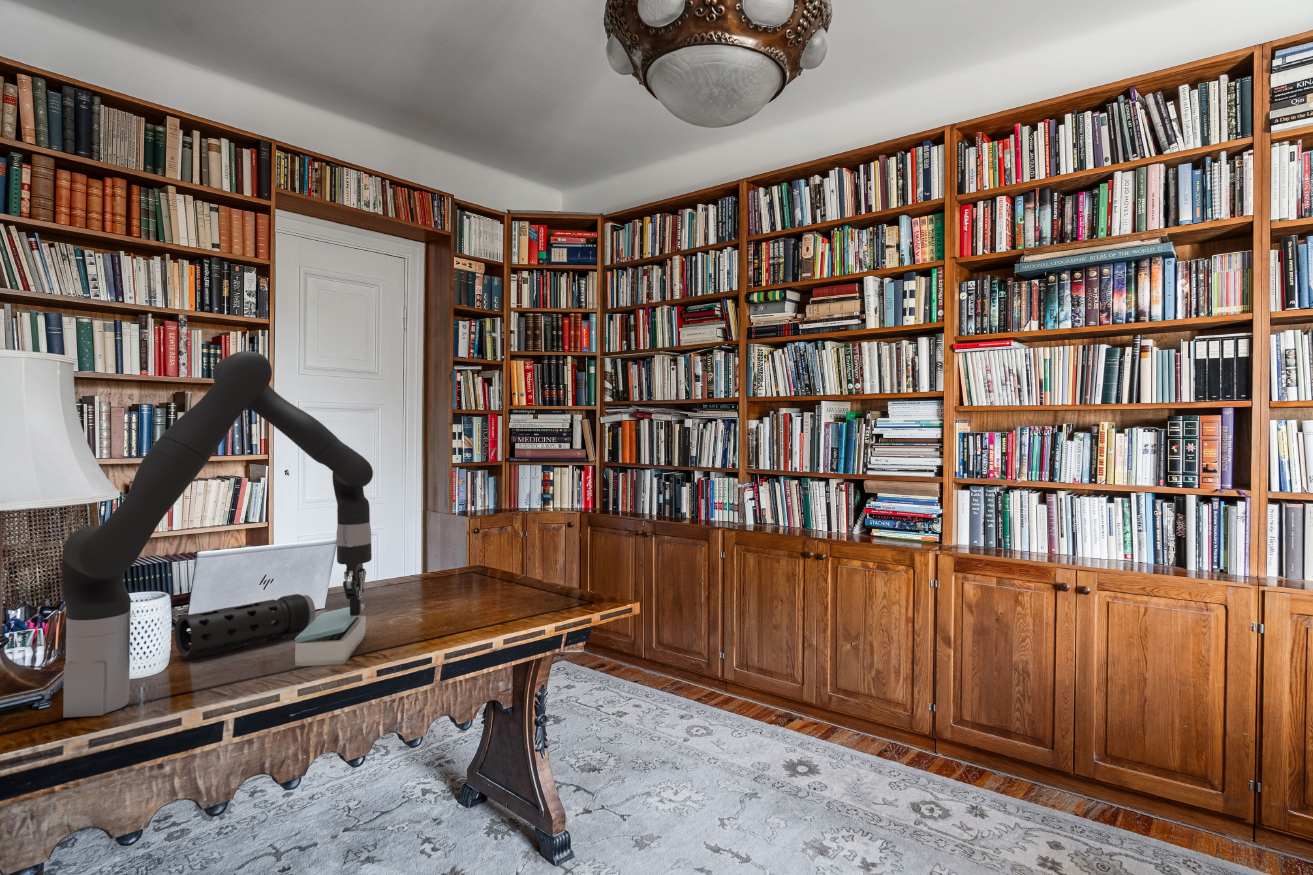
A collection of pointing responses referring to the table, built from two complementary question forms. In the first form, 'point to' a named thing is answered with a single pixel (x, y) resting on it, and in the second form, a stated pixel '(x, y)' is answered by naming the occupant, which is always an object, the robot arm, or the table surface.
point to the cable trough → (331, 646)
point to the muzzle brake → (242, 625)
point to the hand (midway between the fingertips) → (355, 614)
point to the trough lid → (328, 624)
